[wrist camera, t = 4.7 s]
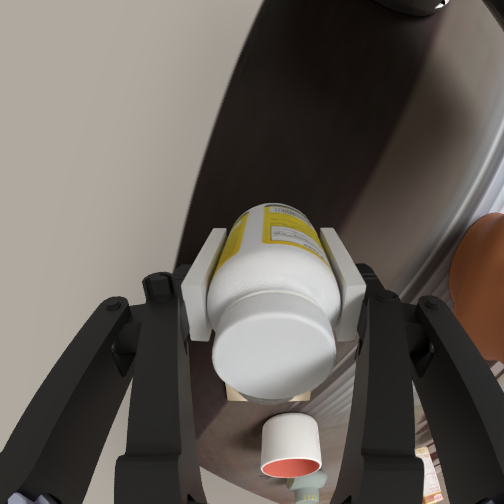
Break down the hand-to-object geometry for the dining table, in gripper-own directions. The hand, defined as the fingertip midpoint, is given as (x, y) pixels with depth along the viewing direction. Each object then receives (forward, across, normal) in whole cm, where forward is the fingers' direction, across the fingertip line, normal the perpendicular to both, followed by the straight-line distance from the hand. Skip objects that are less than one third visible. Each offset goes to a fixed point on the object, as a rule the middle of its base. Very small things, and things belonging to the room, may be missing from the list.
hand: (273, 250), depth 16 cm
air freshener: (+14, +10, -67) cm, 69 cm away
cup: (+14, +4, -40) cm, 43 cm away
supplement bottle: (+1, 0, 0) cm, 1 cm away
